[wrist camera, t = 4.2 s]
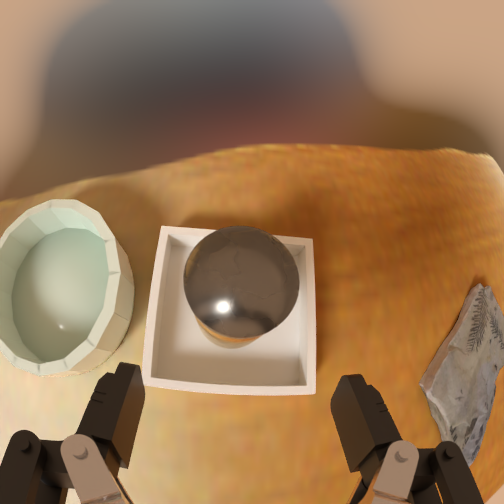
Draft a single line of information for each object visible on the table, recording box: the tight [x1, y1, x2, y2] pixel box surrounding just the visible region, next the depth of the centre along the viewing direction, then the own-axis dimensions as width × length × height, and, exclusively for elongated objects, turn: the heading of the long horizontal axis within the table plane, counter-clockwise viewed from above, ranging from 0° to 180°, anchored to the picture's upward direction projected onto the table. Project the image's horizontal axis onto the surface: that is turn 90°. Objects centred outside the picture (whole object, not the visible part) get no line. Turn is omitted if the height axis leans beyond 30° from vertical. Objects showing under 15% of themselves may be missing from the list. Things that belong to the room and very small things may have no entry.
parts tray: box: [142, 226, 316, 395], centre depth 19 cm, size 11×11×2 cm
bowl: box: [0, 199, 135, 377], centre depth 17 cm, size 13×13×4 cm
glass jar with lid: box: [183, 226, 300, 349], centre depth 16 cm, size 5×5×8 cm
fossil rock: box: [419, 283, 504, 467], centre depth 20 cm, size 18×15×2 cm
